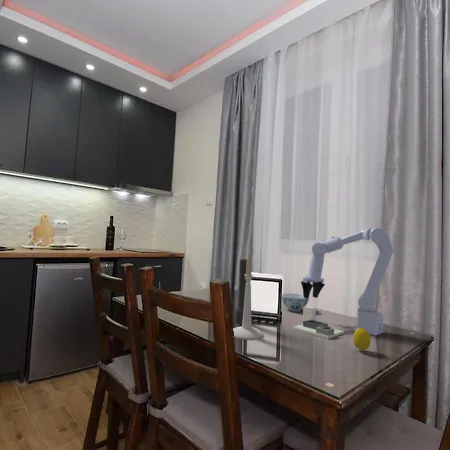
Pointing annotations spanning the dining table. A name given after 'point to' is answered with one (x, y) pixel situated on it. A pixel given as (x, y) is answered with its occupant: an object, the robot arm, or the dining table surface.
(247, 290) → the candlestick
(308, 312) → the plug
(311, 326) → the board
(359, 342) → the lemon
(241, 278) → the flashlight
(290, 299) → the chinaware
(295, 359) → the dining table surface
